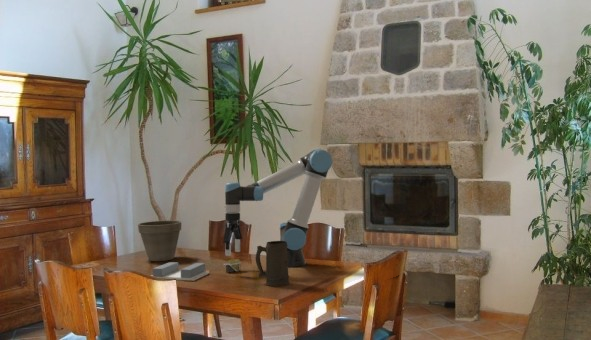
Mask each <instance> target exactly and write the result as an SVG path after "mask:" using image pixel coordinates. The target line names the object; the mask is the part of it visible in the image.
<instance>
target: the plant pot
mask: <svg viewBox="0 0 591 340" xmlns="http://www.w3.org/2000/svg"><path fill="white" fill-rule="evenodd" d="M137 230H138V233H140V237H141V240H142V244H143V247H144V250H145V254H146V256H147V259H148V261H150V262H165V261H170V260H174V259H175V255H176V251H177V245H178V242H179V236H180V232H181V231H182V221H180V220H169V219H167V220H154V221H153V220H151V221H143V222H139V223H137Z"/></svg>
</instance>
